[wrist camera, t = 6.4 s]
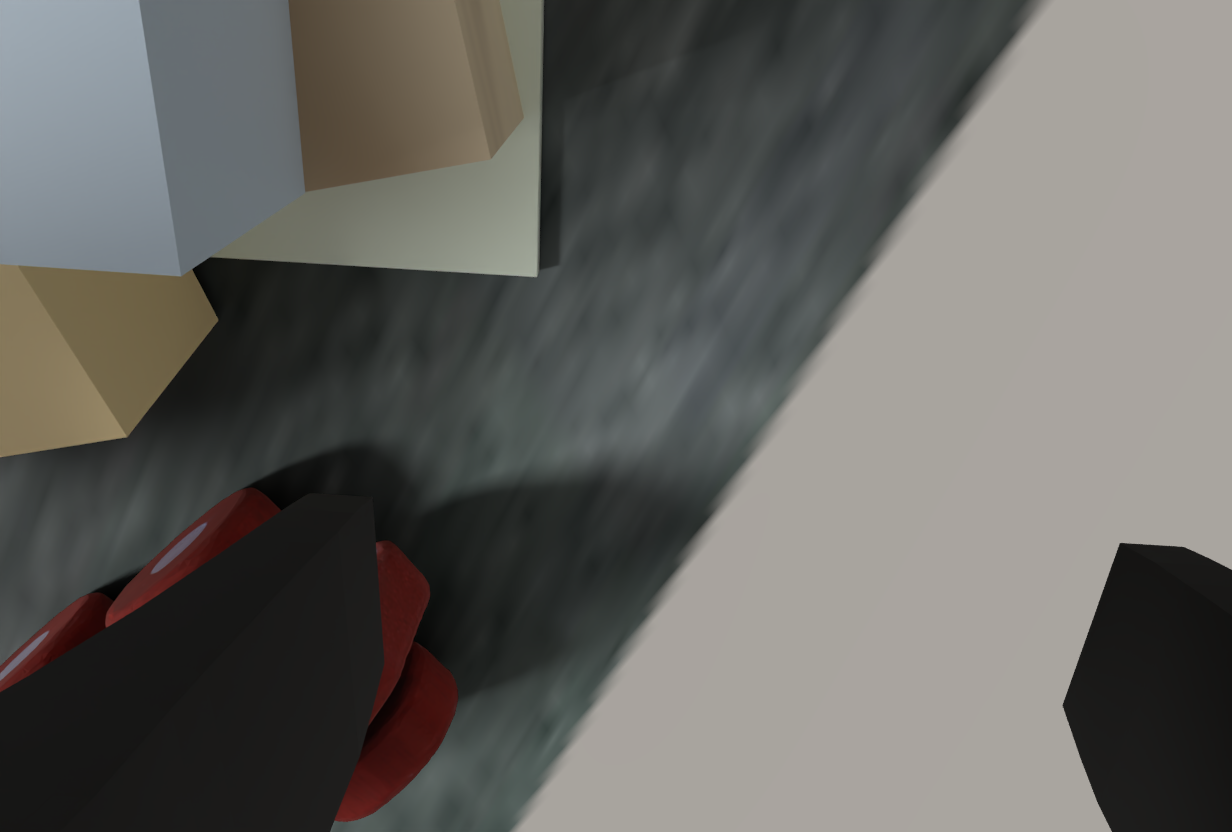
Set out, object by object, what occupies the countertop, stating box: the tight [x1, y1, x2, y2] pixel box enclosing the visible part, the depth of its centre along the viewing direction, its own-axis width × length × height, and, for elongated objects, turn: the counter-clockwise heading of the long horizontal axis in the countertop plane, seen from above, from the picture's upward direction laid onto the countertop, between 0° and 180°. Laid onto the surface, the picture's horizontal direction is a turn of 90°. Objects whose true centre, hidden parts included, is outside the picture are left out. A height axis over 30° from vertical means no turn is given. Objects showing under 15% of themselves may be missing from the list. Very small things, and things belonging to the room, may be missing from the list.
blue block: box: [0, 0, 305, 276], centre depth 11 cm, size 4×4×4 cm
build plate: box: [211, 0, 544, 277], centre depth 16 cm, size 10×8×1 cm
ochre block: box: [0, 264, 218, 457], centre depth 16 cm, size 4×4×4 cm
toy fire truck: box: [0, 488, 458, 822], centre depth 18 cm, size 7×12×10 cm, turn 126°
